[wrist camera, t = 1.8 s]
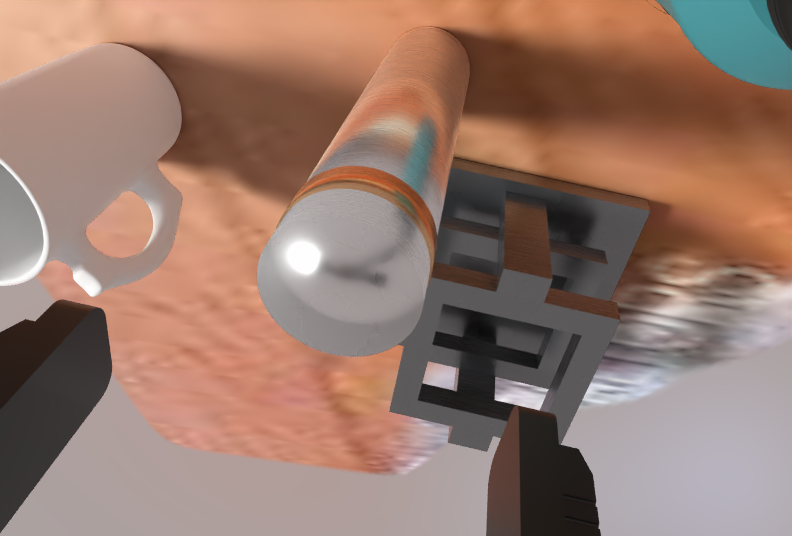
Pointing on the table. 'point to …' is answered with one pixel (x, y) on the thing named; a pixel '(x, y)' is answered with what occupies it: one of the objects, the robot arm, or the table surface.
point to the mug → (84, 162)
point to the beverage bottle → (740, 36)
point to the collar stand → (516, 297)
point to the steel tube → (372, 207)
